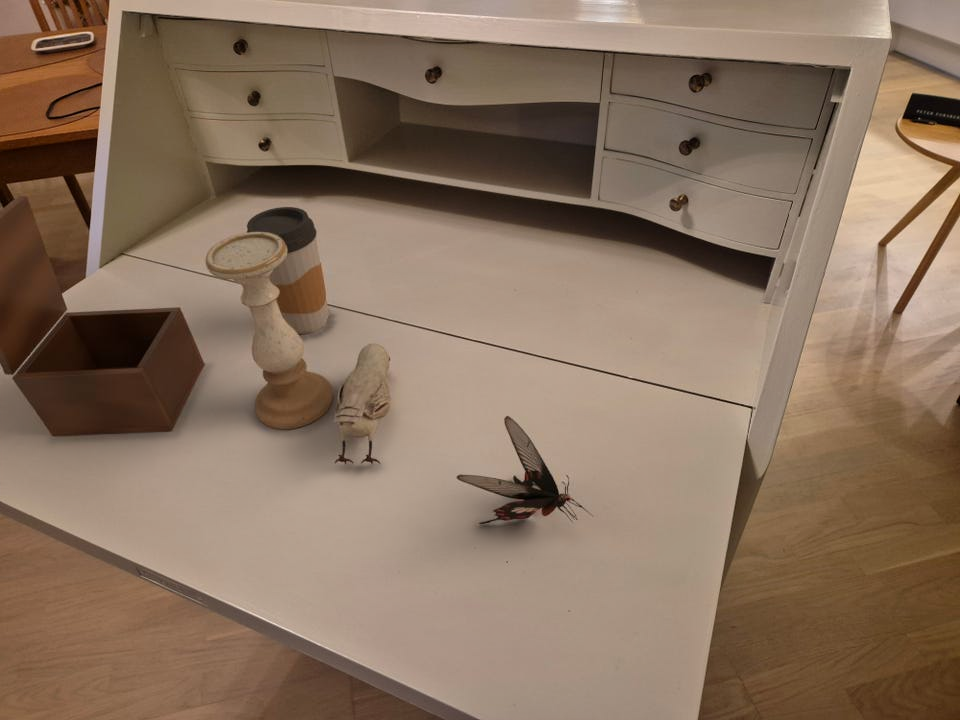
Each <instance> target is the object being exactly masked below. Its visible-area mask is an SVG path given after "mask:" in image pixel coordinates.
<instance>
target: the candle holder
mask: <svg viewBox="0 0 960 720" xmlns="http://www.w3.org/2000/svg"><path fill="white" fill-rule="evenodd" d="M287 251H288V250H287V245H286V244H285V242H284V240H283V239H282V238H281V237H279V236H278V235H275V234H273V233H268V232H248V233H247V232H243V233H238V234H235V235H231V236H230V237H227V238H224V239H223V240H220V241H218V242H217V243H216V244H214V245H213V246H212V247H211V248H210V249H209V250H208V252H207V253H206V256H205V267H206V269H207V270H208V272H209V273H210V274H211V275H212V276H215V277H216V278H219V279H221V280H232V281H233V282H235V283H239V284H240V285H241V286H242V292H241V295H240V302H241V304H242V305H244V306H246V307H248V308H249V311H250V314H251V318H252V320H253V326H254V328H253V330H254V331H253V336H252V342H251V356H252V359H253V361H254V363H255V364H256V365H257V366H258V367H259V368H260V369H262V377H263V379H264V381H265V382H266V384H265V385H264V386H263V387H262V389H260V390H259V392H258V394H257V395H256V398H255V399H254V400H255V401H254V409H255V412H256V415H257V417H258V418H259V420H260V421H261V422H262V423H263V424H265V425H267V426H268V427H271V428H275V429H278V430H279V429H280V430H290V429H297V428H301V427H304V426H307V425H309V424H312V423H313V422H315V421H317V420H318V419H320V418H321V417H322V416H323V415H324V414H325V413H326V412H328V409H329V408H330V406H331V404H332V402H333V398H334V393H333V392H334V391H333V387H332V385H331V382H330V381H329V380H328V379H327V378H326V377H325V376H323V375H321V374H320V373H317V372H312V371H308V370H307V367H308V365H307V362H306V361H305V359H304V358H303V356H304V353H305V345H304V341H303V339H302V338H301V336H300V334H298V333H297V332H296V331H295V330H294V329H293V328H292V327H291V326H290V325H289V324H288V323H287V322H286V321H285V320H284V318H283V316H282V314H281V312H280V309H279V306H278V304H277V300H276V299H277V298H278V296H279V293H280V291H279V289H278V287H276V286H275V285H274V284H272V283H271V282H270V274H271V273H272V271H273V269H274V268H276V267H277V266H279V265H280V264H281V263H282V262H283V261H284V260H285V258H286V256H287Z"/></svg>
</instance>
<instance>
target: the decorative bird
mask: <svg viewBox="0 0 960 720" xmlns="http://www.w3.org/2000/svg"><path fill="white" fill-rule="evenodd" d="M390 363H391V357H390V356H389V352H388V351H387V349H386V348H385V347H384V346H382V345H380V344H379V343H373V342H372V343H369V344H366V345H365V346H364V347H363V348H362V349H360V351H359V353H358V355H357V359H356V363H355V364H356V365H355V366H354V369H353V370H352V371H351V372H350V374H349V375H348V376H347V377H346V379H345V380H344V382H343V383H342V384H341V385H340V386H339V389H338V392H337V397H336V403H335V414H334V420H333V422H332V423H333V424H335V423H337V424H338V427H339V429H340V431H341V433H340V435H341V436H340V437H341V441H342V442H341V444H342V446H341V447H342V452H341V454H338V455H337V456H338V458H337V459H336V460H335V461H334V463H333V464H336V463H337V462H340V463H344V465H345V466H347V462H350V463H351V464H353V465H355V463H354V462H353V460H352V459H350V458H346V457H345V454H346V445H347V444H346V441H347V439H348V436H351V437H354V438H366V437H367V440H368V454H365V458H364V459H362V460H361V462H360V464H361V465H362V464H363V463H364V462H367V463H370V464H371V466H373V464H374V462H377V463H378V464H379V465H381V462H380V460H378V459H377V458H374V457H372V449H373V441H374V438H375V437H374V436H375V433H376V429H377V426H378V424H379V423H380V421H381V420H382V418H385V417H386V416H387V414H388V413H389V410H390V408H391V404H392V400H391V395H390V388H389V385H388V381H387V373H388V370H389V368H390Z"/></svg>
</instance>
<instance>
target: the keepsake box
mask: <svg viewBox="0 0 960 720" xmlns="http://www.w3.org/2000/svg"><path fill="white" fill-rule="evenodd" d="M204 366H205V362H204V359H203V356H202V355H201V352H200V350H199V347H198V345H197V343H196V341H195V338H194V336H193V334H192V330H191V329H190V327H189V325H188V323H187V320H186V317H185V316H184V313H183V310H182V308H181V307H179V306H177V307H155V308H134V309H115V310H114V309H113V310H94V311H93V310H92V311H91V310H90V311H71V312H70V311H69V312H67V311H66V312H65V313H64V314H63V315H62V317H61V318H60V319H59V320H58V321H57V323H56V324H55V325H54V326H53V327H52V329H51V330H50V331H49V332H48V333H47V335H46V336H45V337H44V338H43V339H42V341H41V342H40V343H39V344H38V345H37V347H36V348H35V349H34V350H33V351H32V353H31V354H30V355H29V356H28V358H27V359H26V360H25V361H24V362H23V364H22V365H21V366H20V367H19V368H18V370H17V371H16V372H15V373H14V374H13V375H12V377H11V379H12V380H13V382H14V384H15V385H16V386H17V388H18V389H19V390H20V392H21V393H22V395H23V396H24V397H25V399H26V400H27V402H28V404H29V405H30V406H31V408H32V409H33V410H34V412H35V413H36V415H37V416H38V417H39V419H40V420H41V422H42V423H43V425H44V426H45V427H46V429H47V430H48V432H49V434H51V436H52V437H63V436H65V437H66V436H87V435H88V436H89V435H90V436H91V435H112V434H114V435H115V434H137V433H158V432H159V433H160V432H172V431H173V429H174V427H175V425H176V423H177V421H178V419H179V417H180V415H181V414H182V411H183V409H184V407H185V405H186V403H187V401H188V399H189V396H190V395H191V393H192V391H193V389H194V387H195V384H196V383H197V381H198V378H199V377H200V375H201V373H202V370H203V368H204Z"/></svg>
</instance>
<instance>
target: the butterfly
mask: <svg viewBox="0 0 960 720" xmlns="http://www.w3.org/2000/svg"><path fill="white" fill-rule="evenodd" d="M503 422H504V426H505V429H506V431H507V433H508V436H509V438H510V441H511V444H512V445H513V448H514V450H515V453H516V455H517V457H518V460H519V462H520V463H521V466H522V468H523V470H524V471H525V472H524V479H523V480H522V481H521V480H520V479H519V478H518V477H517V476H516V475H513V477H512V481H508V480H506V479H501V478H497V477H490V476H483V475H475V474H457V476H456V479H457V480H458V481H460V482H462V483H466V484H467V485H471V486H473V487H476V488H478V489H481V490H484V491H487V492H490V493H492V494H495V495H499V496H501V497H504V498H509V499H513V500H516V501H511V502H506V503H505V504H504V505H502V506H500V507H498V508H495V509H493V510H492V512H493V513H494V516H495V517H496V518H493V519H489V520H485V521H480V522H478V525H486V524H490V523H492V522H495V521H504V522H507V521H508V522H509V521H513V520H526V519H529V518H530V517H531V516H533V515H534V514H535V513H537V512H538V511H539V510H540V511H541V515H542V516H543V517H547V516H550V515H551V514H552V513H553V512H554V510H556V508H557V509H558V510H559V511H561V512H562V513H563V514H565V516H566V517H567V518H568V519H569V520H570V521H571V522H573V520H577V521H578V520H579V519H578V518H577V517H578V516H577V514H576V513H575V512H574V509H572V507H571V506H570V505H569V504H572V505H574V506H575V507H579V508H582V509H583V510H584V511H585V512H586V513H588V514H589V515H591V516H592V517H595V516H594V515H593V514H591V513H590V511H588V510H587V509H586V508H585V507H583V505H581V504H580V503H578V502H577V501H576V500H574V498H573V496H572V495H571V494H569V485H570V477H569V475H567V474H566V477H567V480H568V482H567V485H566V483H565V482H564V481H561V483H562V484H564V493H563V492H561V493H560V492H559V487H558V485H557V483H556V480H555V478H554V477H553V475H552V473H551V472H550V470H549V467H548V466H547V464H546V463H545V461H544V459H543V458H542V456H541V454H540V453H539V451H538V449H537V448H536V445H535V444H534V442H533V441H532V440H531V438H530V437H529V436H528V434H527V433H526V431H525V430H524V429H523V428H522V426H521V425H520V424H519V423H518V422H517V421H516V420H514V419H513V418H512V417H510V416H509V415H506V416H505V417H504V419H503ZM565 504H566V505H567V506H568V507H569V509H570V510H571V511H572V513H573V514H572V513H571V512H570V510H568V509H567V507H566V506H565ZM562 508H564V509H565V510H566V512H567V513H568V514H569V515H570V516H571V517H572V519H573V520H572V519H571V518H570V517H569V515H568V514H567V513H566V512H565V510H563V509H562Z"/></svg>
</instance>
